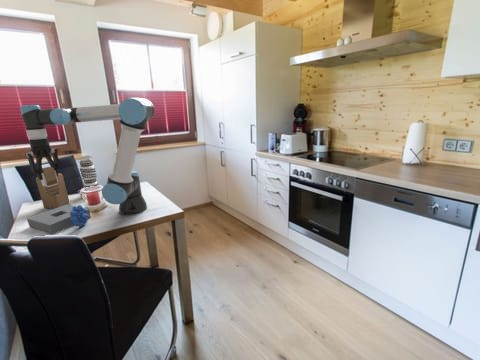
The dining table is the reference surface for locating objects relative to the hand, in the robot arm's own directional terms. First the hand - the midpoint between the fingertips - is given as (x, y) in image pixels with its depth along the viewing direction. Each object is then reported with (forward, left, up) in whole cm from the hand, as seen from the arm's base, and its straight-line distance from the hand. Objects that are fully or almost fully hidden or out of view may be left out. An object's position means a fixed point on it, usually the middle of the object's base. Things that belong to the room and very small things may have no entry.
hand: (50, 183), depth 129 cm
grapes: (-17, -1, -22) cm, 28 cm away
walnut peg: (0, 0, -6) cm, 6 cm away
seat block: (0, 0, -22) cm, 22 cm away
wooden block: (+28, -14, -22) cm, 38 cm away
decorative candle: (+26, -37, -22) cm, 50 cm away
